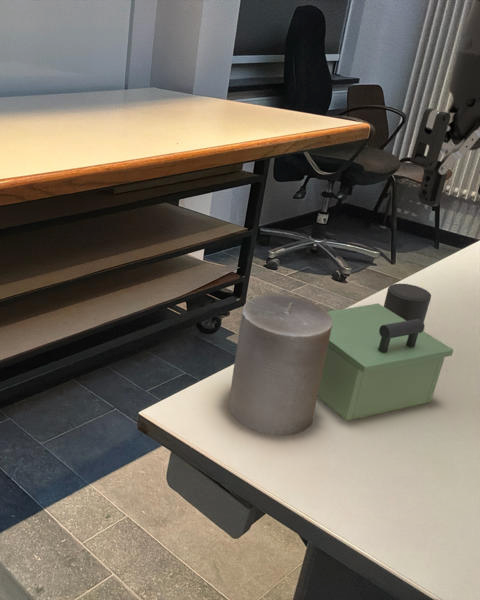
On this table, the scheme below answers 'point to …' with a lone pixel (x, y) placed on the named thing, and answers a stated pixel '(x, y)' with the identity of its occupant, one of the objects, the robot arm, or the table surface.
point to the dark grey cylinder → (407, 301)
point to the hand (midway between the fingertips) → (458, 200)
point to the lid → (381, 338)
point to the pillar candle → (279, 364)
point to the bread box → (375, 386)
